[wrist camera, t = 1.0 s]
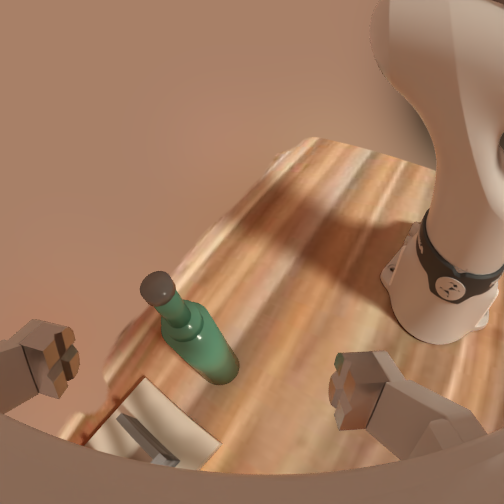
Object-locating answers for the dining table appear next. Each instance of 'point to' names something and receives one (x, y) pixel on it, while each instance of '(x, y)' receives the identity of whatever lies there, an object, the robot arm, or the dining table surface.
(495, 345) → the dining table surface
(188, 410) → the dining table surface
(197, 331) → the bottle
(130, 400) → the bottle stand
